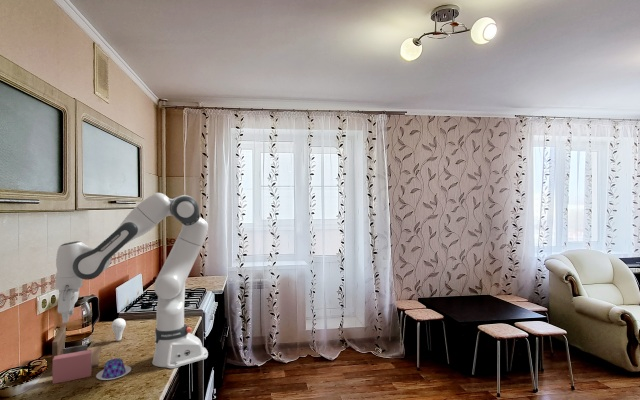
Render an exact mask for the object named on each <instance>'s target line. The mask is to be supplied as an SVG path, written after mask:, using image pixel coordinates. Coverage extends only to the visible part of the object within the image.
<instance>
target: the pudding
mask: <svg viewBox="0 0 640 400" xmlns="http://www.w3.org/2000/svg"><path fill="white" fill-rule="evenodd" d="M124 364H125V363H124V361H123V359H122V358H118V357H117V358H112V359H109V360H107V361H106V362H105V364H104V367H103V369H102V370H101V371H99V372H97V374H96V375H95V378H96V379H98V380H100V381H106V380H107V381H108V380H115V379H118V378H121V377H124V376H126V375H127V374H129V373H130V372H131V371H132V367H131V366H129V365H124Z"/></svg>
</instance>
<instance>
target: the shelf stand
mask: <svg viewBox="0 0 640 400" xmlns="http://www.w3.org/2000/svg"><path fill="white" fill-rule="evenodd" d="M66 328H67V325H61V326H60V328H59V329H58V332H57V334H56V335H55V336H54V339H53V341H52V342H51V343H52V346H51V347H52V352H51V353H52V355H51V357H52V358H51V359H52V360H51V362H52V365H51V367H52V368H51V371H50V373H49V376H50V377H53V358H54V356H58V355H64V354H69V353H75V352H81V351H87V350H92V369H93V368H98V367H99V364H100V357H101V352H102V345H99V346H98V345H97V346H92V347H88V344H83V345H81V344H80V345H75V346H70V347H69V346H68V347H66V348H65V341H66V339H67V337H66V333H67V332H66V331H67V330H66Z"/></svg>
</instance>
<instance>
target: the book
mask: <svg viewBox="0 0 640 400" xmlns="http://www.w3.org/2000/svg"><path fill="white" fill-rule="evenodd" d="M92 369H93V368H92V350H87V351H81V352H75V353H69V354H64V355H58V356H54V358H53V376H52V384H53V385H54V384H59V383H64V382H68V381H73V380H78V379H84V378H89V377H91V376H92V371H93V370H92Z"/></svg>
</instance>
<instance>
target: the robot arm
mask: <svg viewBox="0 0 640 400" xmlns="http://www.w3.org/2000/svg"><path fill="white" fill-rule="evenodd" d="M199 207H200V206H199V204H198V202H197V200H196V199H195V198H193V197H192V196H190V195H187V194H182V195H178V196H174V197H170V198H169V197H168V196H167V195H166V194H165V193H162V192H155V193H153V194H152V195H149V196H148V197H146V198H145V199H143V201H141V202H139V203H138V204H137V205H136V206H135V207H134V208H133V209H132V210H131V211H130V212H129V213H128V214H127V215H126V217H124V220H122V222H121V223H120V224H119V226H118V227H117V228H116V229H115V231H114V232H112V233H111V234H110V235H108V237H106V239H104V240H103V241H102V242H101V243H100V244H99V245H98V246H96V247H92V246H90V245H87V244H85V243H84V242H82V241H78V240H77V241H75V240H74V241H71V242H65V243H62V244H61V245H59V246H58V249H57V253H56V259H55V268H56V274H55V276H54V278H55V279H54V280H55V281H54V285H55V286H54V289H55V290H57V291H58V293H59V294H58V300H57V314H61V318H62V321H61V322H62V324H66V323H69V319H70V316H71V317H72V316H73V315H74V308H75V304H76V303H77V302H78V299H79V295H80V288H82V287H83V283H84V280H85V281H87V280H89V281H90V280H94V279H95V278H97V277H99V276H100V275H101V274H102V273H103V272H105V271H106V270H107V269H108V268H109V267H110V265H111V263H112V257H113V256H115V254H116V253H118V252H119V251H120V250H121V249H122V248H123V247H124V246H126V245H127V244H128V243H130V242H131V241H133V240H136V239H137V238H140V237H141V236H144V235H145V234H147V233H148V232H150V231H152V229H154V228H155V227H156V226H157V225H159V224H160V222H161V221H162V220H164V219H165V218H167V217H169V216H170V217H171V216H172V217H173V218H175V219H176V220H178V222H180V223H181V224H182V225H181V230H180V232H179V234H178V236H177V238H176V239H175V242H174V243H173V246H172V248H171V250H170V252H169V254H168V256H167V258H166V260H165V262H164V263H163V265H162V267H161V269H160V271H159V273H158V275H157V277H156V279H155V281H154V284H153V286H154V287H153V288H154V293H155V295H157V305H156V328H155V332H154V341H155V350H154V355H153V359H152V361H151V363H152V365H153V366H155V367H159V368H168V369H175V368H179V367H181V366H185V365H188V364H193V363H195V362H199V361H202V360H206V359H207V358H208V356H209V352H208V350H207V348H206V347H204V346H203V343H202V340H201V339H200V338H199V337H197V336H196V335H194V334H193V333H191V332H192V328H191V326H189V325H188V324H187V323H186V324H185V298H186V297H185V296H186V280H187V279H188V277H189V275H190V273H191V271H192V268H193V267H194V264H195V262H196V260H197V258H198V256H199V254H200V251H201V249H202V247H203V245H204V243H205V240H206V237H207V235H208V230H209V223H208V222H207V221H206V219H204V218H202V217H201V216H200V209H199Z"/></svg>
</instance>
